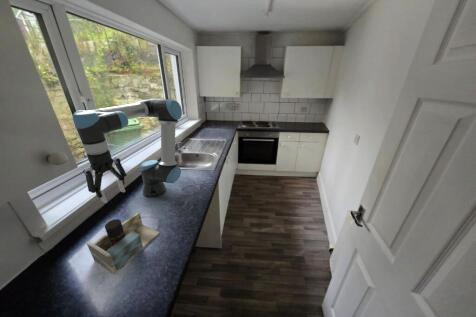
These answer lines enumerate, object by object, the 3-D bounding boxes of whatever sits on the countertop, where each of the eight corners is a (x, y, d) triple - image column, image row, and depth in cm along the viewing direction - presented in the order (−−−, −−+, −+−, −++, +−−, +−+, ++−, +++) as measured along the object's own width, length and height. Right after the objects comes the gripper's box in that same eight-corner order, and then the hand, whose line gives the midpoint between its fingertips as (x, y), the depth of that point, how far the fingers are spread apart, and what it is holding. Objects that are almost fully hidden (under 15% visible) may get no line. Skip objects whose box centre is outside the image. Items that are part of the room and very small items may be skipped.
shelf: (141, 224, 99) (137, 209, 95) (159, 233, 94) (156, 217, 89) (94, 260, 79) (86, 243, 75) (114, 274, 74) (107, 256, 69)
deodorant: (131, 244, 86) (123, 220, 80) (120, 254, 81) (112, 230, 75) (121, 241, 88) (113, 218, 82) (110, 251, 82) (101, 227, 76)
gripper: (116, 141, 81) (128, 183, 91) (61, 159, 64) (84, 208, 74) (127, 144, 79) (139, 186, 89) (73, 163, 62) (95, 213, 72)
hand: (114, 196), depth 81 cm, fingers open, 8 cm apart
